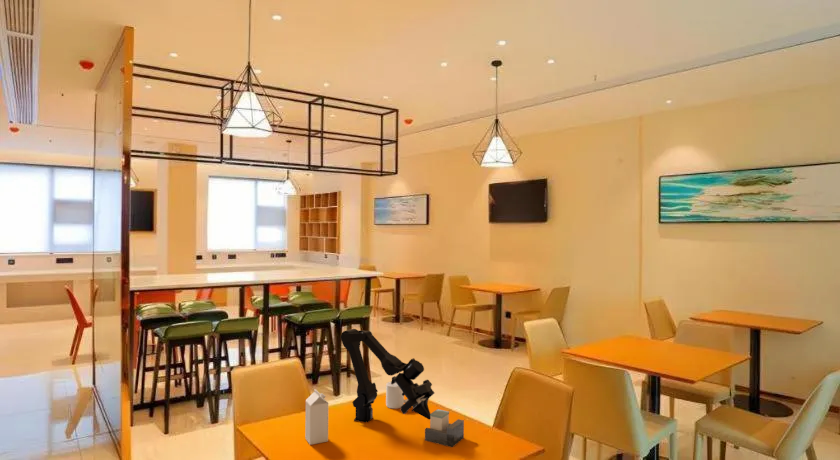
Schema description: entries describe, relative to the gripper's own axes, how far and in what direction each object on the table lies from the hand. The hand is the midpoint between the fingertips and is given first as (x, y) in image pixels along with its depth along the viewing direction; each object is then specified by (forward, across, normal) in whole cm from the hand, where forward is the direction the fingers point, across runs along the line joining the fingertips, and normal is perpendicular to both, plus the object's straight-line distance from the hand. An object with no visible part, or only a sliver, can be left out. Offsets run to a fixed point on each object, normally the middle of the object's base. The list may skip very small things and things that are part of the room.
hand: (430, 418), depth 199 cm
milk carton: (-20, -27, +30) cm, 45 cm away
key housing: (+9, 0, 0) cm, 9 cm away
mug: (-15, +22, +26) cm, 37 cm away
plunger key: (+7, 0, +1) cm, 7 cm away
